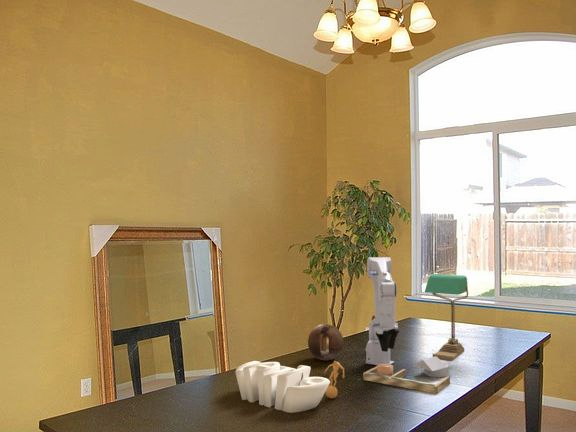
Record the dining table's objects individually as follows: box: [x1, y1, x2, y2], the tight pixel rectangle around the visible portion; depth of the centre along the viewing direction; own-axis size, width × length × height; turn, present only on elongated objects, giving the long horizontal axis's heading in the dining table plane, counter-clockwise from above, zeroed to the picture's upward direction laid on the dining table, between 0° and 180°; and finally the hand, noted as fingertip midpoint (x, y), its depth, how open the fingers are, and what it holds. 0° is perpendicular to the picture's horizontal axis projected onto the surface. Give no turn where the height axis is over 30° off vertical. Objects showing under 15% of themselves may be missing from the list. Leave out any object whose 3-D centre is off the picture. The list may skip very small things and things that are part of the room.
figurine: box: [324, 360, 345, 399], centre depth 177 cm, size 8×6×12 cm
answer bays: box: [362, 365, 451, 394], centre depth 195 cm, size 28×14×3 cm, turn 55°
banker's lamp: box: [424, 273, 469, 362], centre depth 234 cm, size 16×21×35 cm
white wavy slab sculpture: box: [234, 360, 331, 414], centre depth 176 cm, size 35×16×11 cm, turn 49°
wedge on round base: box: [413, 356, 450, 378], centre depth 204 cm, size 9×7×13 cm
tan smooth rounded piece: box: [376, 364, 394, 377], centre depth 200 cm, size 6×6×4 cm
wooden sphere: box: [307, 323, 344, 362], centre depth 226 cm, size 15×15×15 cm
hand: (387, 349), depth 202 cm, fingers open, 5 cm apart
